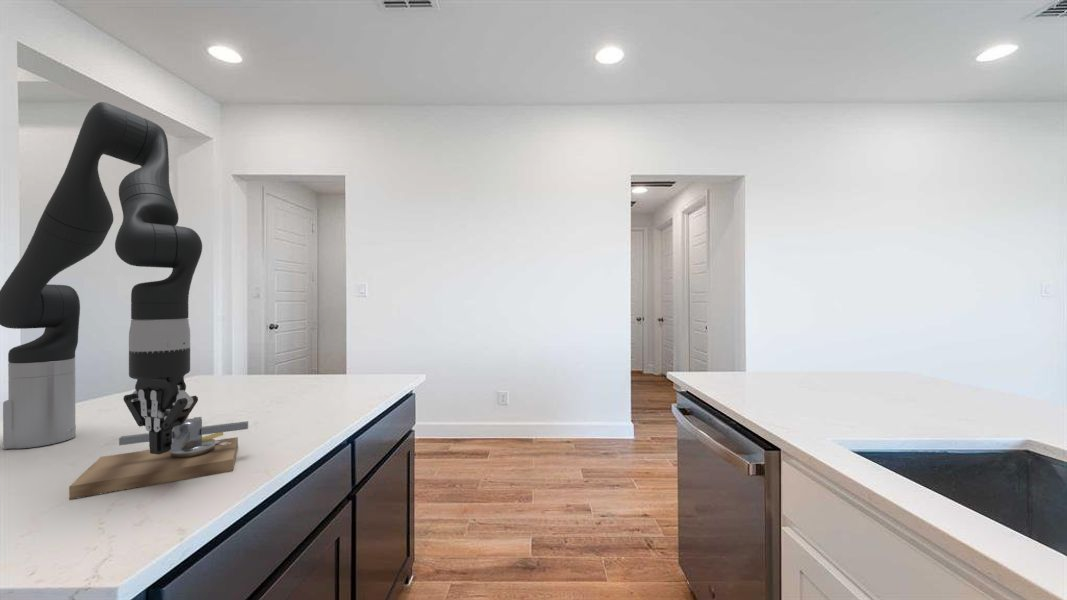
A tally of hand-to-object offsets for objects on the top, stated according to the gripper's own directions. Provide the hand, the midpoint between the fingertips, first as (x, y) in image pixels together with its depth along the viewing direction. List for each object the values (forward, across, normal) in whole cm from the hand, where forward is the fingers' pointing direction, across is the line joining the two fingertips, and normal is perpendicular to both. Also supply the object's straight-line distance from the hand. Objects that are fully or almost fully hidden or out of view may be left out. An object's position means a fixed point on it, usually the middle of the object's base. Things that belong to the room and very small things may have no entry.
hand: (160, 452), depth 69 cm
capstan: (+3, +3, -7) cm, 8 cm away
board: (+5, +5, -4) cm, 8 cm away
